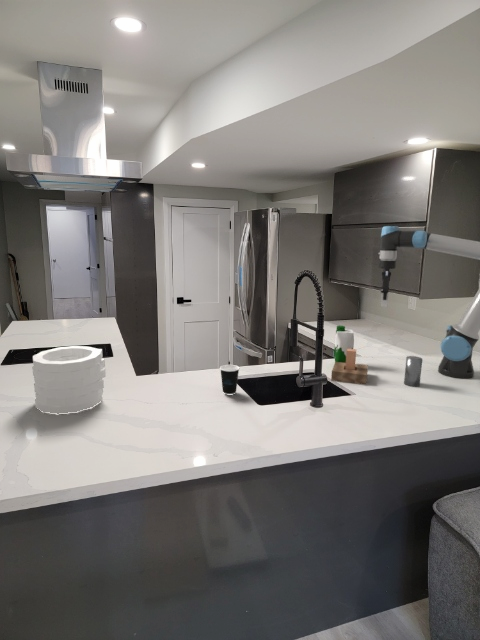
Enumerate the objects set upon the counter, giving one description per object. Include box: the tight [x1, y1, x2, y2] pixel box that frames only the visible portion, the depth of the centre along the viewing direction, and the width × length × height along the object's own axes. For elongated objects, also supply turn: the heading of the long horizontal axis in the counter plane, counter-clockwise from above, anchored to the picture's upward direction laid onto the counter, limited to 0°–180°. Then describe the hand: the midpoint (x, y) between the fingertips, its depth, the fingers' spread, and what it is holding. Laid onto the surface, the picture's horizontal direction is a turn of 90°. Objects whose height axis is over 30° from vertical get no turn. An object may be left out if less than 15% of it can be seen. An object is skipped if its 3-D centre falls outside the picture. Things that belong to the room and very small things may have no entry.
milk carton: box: [333, 325, 355, 363], centre depth 205 cm, size 9×9×20 cm
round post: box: [403, 355, 423, 388], centre depth 180 cm, size 6×6×12 cm
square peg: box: [345, 348, 357, 370], centre depth 188 cm, size 4×4×13 cm
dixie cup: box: [219, 364, 241, 394], centre depth 166 cm, size 8×8×11 cm
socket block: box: [330, 361, 369, 386], centre depth 189 cm, size 15×15×4 cm
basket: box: [32, 345, 107, 414], centre depth 155 cm, size 25×24×19 cm
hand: (383, 304), depth 197 cm, fingers open, 13 cm apart
